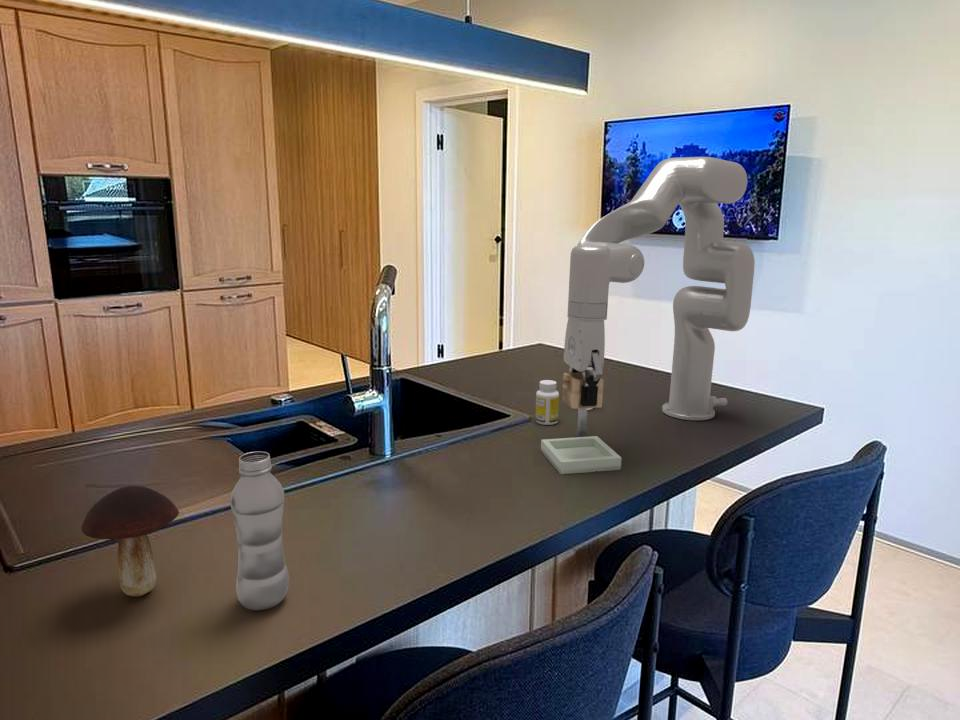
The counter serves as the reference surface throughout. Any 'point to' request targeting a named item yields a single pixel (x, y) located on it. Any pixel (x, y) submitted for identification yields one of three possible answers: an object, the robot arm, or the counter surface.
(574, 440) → the tray
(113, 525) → the decorative mushroom
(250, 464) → the plastic bottle
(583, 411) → the post
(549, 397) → the supplement bottle
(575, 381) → the ring
